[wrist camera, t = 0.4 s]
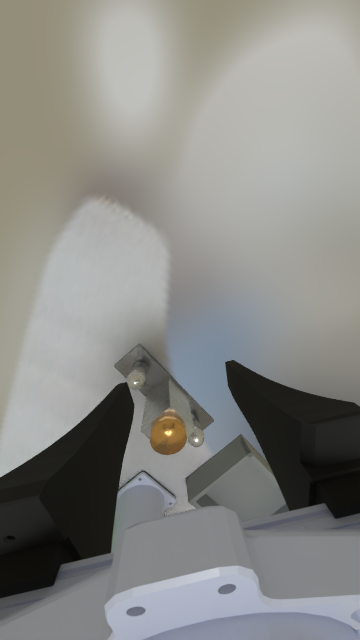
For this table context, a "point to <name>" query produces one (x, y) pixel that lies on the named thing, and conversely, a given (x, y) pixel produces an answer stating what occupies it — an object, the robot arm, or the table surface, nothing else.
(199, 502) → the bin
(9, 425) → the table surface
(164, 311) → the table surface
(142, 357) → the stud posts
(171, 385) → the pedestal with gold ball
